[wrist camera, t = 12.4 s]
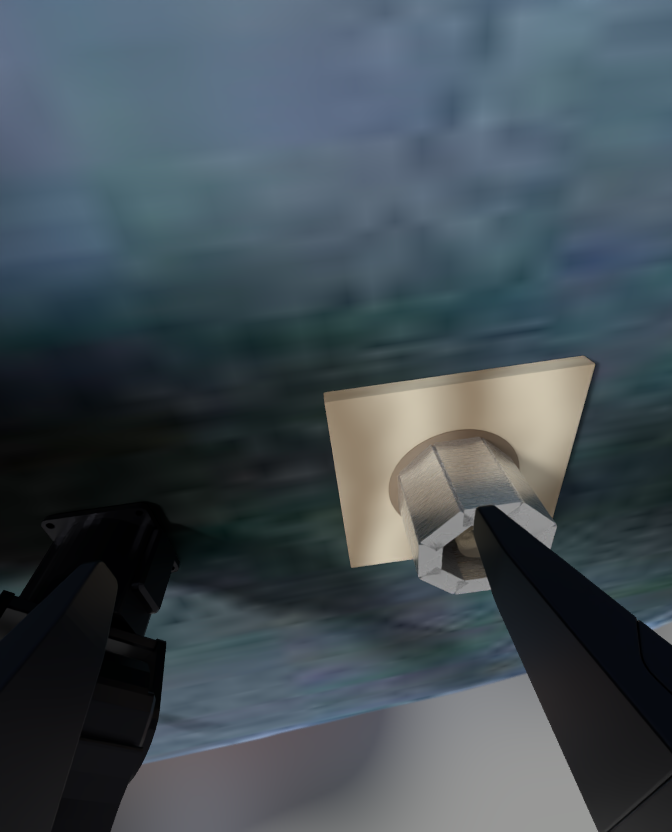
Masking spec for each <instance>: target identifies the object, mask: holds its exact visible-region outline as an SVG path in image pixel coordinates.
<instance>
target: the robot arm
mask: <svg viewBox="0 0 672 832" xmlns="http://www.w3.org/2000/svg"><path fill="white" fill-rule="evenodd" d="M41 526H42V527H43V529H44V530H45V531H46V532H47V534H48V535H49V536H50V537H51V539H52V540H53V541H54V542H53V544H52V545H51V547H50V548H49V550H48V552H47V553H46V555H45V556H44V558H43V560H42V561H41V563H40V564H39V566H38V568H37V569H36V571H35V572H34V574H33V575H32V577H31V579H30V580H29V582H28V583H27V585H26V587H25V588H24V590H23V591H22V593H21V595H20V596H19V597H17V596H14V595H15V593H12V592H9V591H5V590H3V592H2V593H1V594H0V832H110V831H111V828H112V825H113V822H114V819H115V816H116V813H117V811H118V808H119V805H120V802H121V800H122V797H123V795H124V792H125V790H126V787H127V785H128V784H129V782H130V781H131V780H132V779H133V778H134V776H135V775H136V773H137V772H138V770H139V768H140V767H141V765H142V763H143V761H144V759H145V757H146V755H147V752H148V750H149V747H150V745H151V742H152V739H153V736H154V733H155V730H156V726H157V722H158V718H159V711H160V702H161V692H162V682H163V672H164V662H165V652H166V641H163V640H160V639H156V640H154V639H151V638H148V637H144V635H145V632H146V629H147V626H148V623H149V620H150V616H151V614H153V613H157V612H158V611H159V609H160V607H161V604H162V601H163V597H164V594H165V591H166V587H167V584H168V581H169V577H170V574H171V573H172V572H176V571H178V569H179V566H180V562H179V560H178V558H177V556H176V552H175V551H174V549H173V547H172V545H171V543H170V542H169V540H168V538H167V536H166V534H165V532H164V531H163V530H162V529H161V527H160V525H159V524H158V522H157V520H156V518H155V516H154V514H153V513H152V511H151V509H150V507H149V506H148V505H146V504H144V503H134V504H127V505H120V506H113V507H105V508H98V509H91V510H84V511H77V512H70V513H63V514H56V515H49V516H47V517H45V519H44V520H43V522H42V523H41ZM473 534H474V539H475V542H476V545H477V548H478V551H479V554H480V557H481V560H482V563H483V567H484V570H485V573H486V576H487V579H488V582H489V585H490V588H491V591H492V594H493V597H494V600H495V602H496V605H497V607H498V609H499V612H500V614H501V616H502V618H503V621H504V623H505V625H506V627H507V629H508V632H509V634H510V636H511V638H512V641H513V643H514V645H515V647H516V650H517V652H518V654H519V656H520V658H521V661H522V663H523V665H524V667H525V670H526V672H527V674H528V676H529V678H530V681H531V683H532V685H533V687H534V690H535V692H536V694H537V696H538V698H539V701H540V703H541V705H542V707H543V710H544V712H545V714H546V716H547V718H548V720H549V723H550V725H551V727H552V730H553V732H554V734H555V736H556V738H557V741H558V743H559V745H560V747H561V749H562V752H563V754H564V756H565V759H566V760H567V763H568V765H569V767H570V770H571V772H572V774H573V776H574V779H575V781H576V783H577V785H578V787H579V790H580V792H581V794H582V796H583V799H584V801H585V803H586V805H587V808H588V810H589V812H590V814H591V816H592V819H593V821H594V823H595V825H596V827H597V830H598V832H672V645H671V644H670V643H668V642H667V641H666V640H665V639H663V638H662V637H661V636H659V635H658V634H657V633H656V632H654V631H653V630H652V629H650V628H649V627H648V626H647V625H645V624H644V623H643V622H642V621H640V620H638V621H637V618H636V617H635V616H634V615H633V614H631V613H630V612H629V611H628V610H626V609H625V608H624V607H623V606H621V605H620V604H619V603H617V602H616V601H615V600H614V599H612V598H611V597H610V596H609V595H607V594H606V593H605V592H604V591H602V590H601V589H600V588H599V587H597V586H596V585H595V584H593V583H592V582H591V581H590V580H588V579H587V578H586V577H585V576H583V575H582V574H581V573H580V572H578V571H577V570H576V569H575V568H573V567H572V566H571V565H570V564H568V563H567V562H566V561H564V560H563V559H562V558H561V557H559V556H558V555H557V554H556V553H554V552H553V551H552V550H551V549H549V548H548V547H547V546H546V545H544V544H543V543H542V542H541V541H539V540H538V539H537V538H535V537H534V536H533V535H532V534H530V533H529V532H528V531H527V530H525V529H524V528H523V527H522V526H520V525H519V524H518V523H517V522H515V521H514V520H513V519H512V518H510V517H509V516H508V515H506V514H505V513H504V512H503V511H501V510H500V509H499V508H498V507H496V506H494V505H485V506H478V507H477V508H476V510H475V516H474V525H473Z"/></svg>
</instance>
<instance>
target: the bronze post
mask: <svg viewBox="0 0 672 832" xmlns="http://www.w3.org/2000/svg"><path fill="white" fill-rule="evenodd" d="M454 539H455V541H456V544H457V546H458V549H459V551H460V552H461V553H462V554H463V555H465V556H467V557H473V558H475V557H480V554H479V551H478V548H477V545H476V542H475V539H474V534H473V526H470V527H469V528H467V529H466V530H465V531H463V532H462V533H461V534H459V535H458V536H457V537H455V538H454Z"/></svg>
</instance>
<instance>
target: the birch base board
mask: <svg viewBox="0 0 672 832" xmlns="http://www.w3.org/2000/svg"><path fill="white" fill-rule="evenodd" d="M594 367H595V363H593V362H592V361H590V360H589V359H588V358H586V357H585V356H577V357H570V358H563V359H556V360H549V361H542V362H535V363H528V364H521V365H514V366H507V367H500V368H493V369H486V370H479V371H472V372H465V373H458V374H451V375H444V376H437V377H430V378H423V379H416V380H409V381H402V382H395V383H388V384H381V385H374V386H367V387H360V388H353V389H346V390H339V391H332V392H325V393H324V401H325V408H326V414H327V421H328V427H329V433H330V439H331V445H332V452H333V458H334V464H335V470H336V477H337V483H338V489H339V495H340V502H341V508H342V514H343V520H344V527H345V533H346V539H347V545H348V552H349V558H350V564H351V568H353V567H360V566H367V565H375V564H382V563H389V562H396V561H403V560H410V559H413V556H412V553H411V549H410V545H409V542H408V538H407V535H406V531H405V527H404V524H403V520H402V517H401V513H400V510H399V506H398V475H399V472H400V471H401V470H403V469H404V468H405V467H406V466H407V465H408V464H409V463H410V462H411V461H412V460H414V459H415V458H416V457H417V456H418V455H419V454H420V453H421V452H422V451H424V450H425V449H426V448H427V447H428V446H429V445H430V444H431V445H432V446H434V443H436V442H443V441H451V440H458V439H465V438H473V437H480V438H482V437H483V438H485V439H486V440H487V441H489V442H490V443H491V444H493V445H494V446H495V447H497V448H498V449H499V450H501V451H502V452H504V453H505V454H506V455H508V456H509V457H510V458H511V459H512V460H513V462H514V463H515V465H516V466H517V468H518V469H519V471H520V472H521V473H522V475H523V476H524V478H525V479H526V481H527V482H528V484H529V485H530V487H531V488H532V489H533V491H534V492H535V494H536V495H537V497H538V498H539V500H540V501H541V503H542V504H543V505H544V507H545V508H546V510H547V511H548V513H549V514H550V516H551V517H552V518H553V515H554V511H555V507H556V504H557V500H558V497H559V493H560V489H561V486H562V482H563V479H564V475H565V471H566V468H567V464H568V461H569V457H570V453H571V450H572V446H573V443H574V439H575V435H576V432H577V428H578V424H579V421H580V417H581V414H582V410H583V406H584V403H585V399H586V396H587V392H588V388H589V385H590V381H591V378H592V374H593V370H594Z"/></svg>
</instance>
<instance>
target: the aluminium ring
mask: <svg viewBox="0 0 672 832" xmlns="http://www.w3.org/2000/svg"><path fill="white" fill-rule="evenodd" d="M485 505H494V506H496V507H498V508H499V509H500V510H501V511H503V512H504V513H505V514H506V515H508V516H509V517H510V518H512V519H513V520H514V521H515V522H517V523H518V524H519V525H520V526H522V527H523V528H524V529H525V530H527V531H528V532H529V533H530V534H532V535H533V536H534V537H535V538H537V539H538V540H539V541H541V542H542V543H543V544H544V545H546V546H547V547H548V548H549V549H550V548H551V545H552V541H553V538H554V535H555V531H556V528H557V526H556V523H555V521H554V520H553V519H552V517H551V516H550V514H549V513H548V511H547V510H546V508H545V507H544V505H543V504H542V503H541V501H540V500H539V498H538V497H537V495H536V494H535V492H534V491H533V489H532V488H531V487H530V485H529V484H528V482H527V481H526V479H525V478H524V476H523V475H522V473H521V472H520V471H519V469H518V468H517V466H516V465H515V463H514V462H513V460H512V459H511V458H510V457H509V456H508V455H506V454H505V453H504V452H502V451H501V450H499V449H498V448H497V447H495V446H494V445H493V444H491V443H490V442H489V441H487V440H486V439H485V438H483V437H482V438H480V437H473V438H465V439H458V440H451V441H443V442H436V443H434V446H432V445H431V444H430V445H429V446H428V447H427V448H426V449H425V450H424V451H422V452H421V453H420V454H419V455H418V456H417V457H416V458H415V459H414V460H412V461H411V462H410V463H409V464H408V465H407V466H406V467H405V468H404V469H403V470H401V471H400V472H399V475H398V506H399V510H400V513H401V517H402V520H403V524H404V527H405V531H406V535H407V538H408V542H409V545H410V549H411V553H412V556H413V560H414V563H415V567H416V570H417V574H418V577H419V578H420V579H421V580H423V581H425V582H428V583H430V584H432V585H434V586H436V587H438V588H441V589H443V590H445V591H447V592H449V593H451V594H453V593H455V594H462V593H470V592H477V591H484V590H491V588H490V585H489V582H488V579H487V576H486V573H485V570H484V567H483V563H482V560H481V557H475V558H473V557H467V556H465V555H463V554H462V553H461V552H460V551H459V549H458V546H457V544H456V541H455V539H454V538H455V537H457V536H458V535H459V534H461V533H462V532H463V531H465V530H466V529H467V528H469V527H470V526H473V525H474V516H475V510H476V508H477V507H478V506H485Z"/></svg>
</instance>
